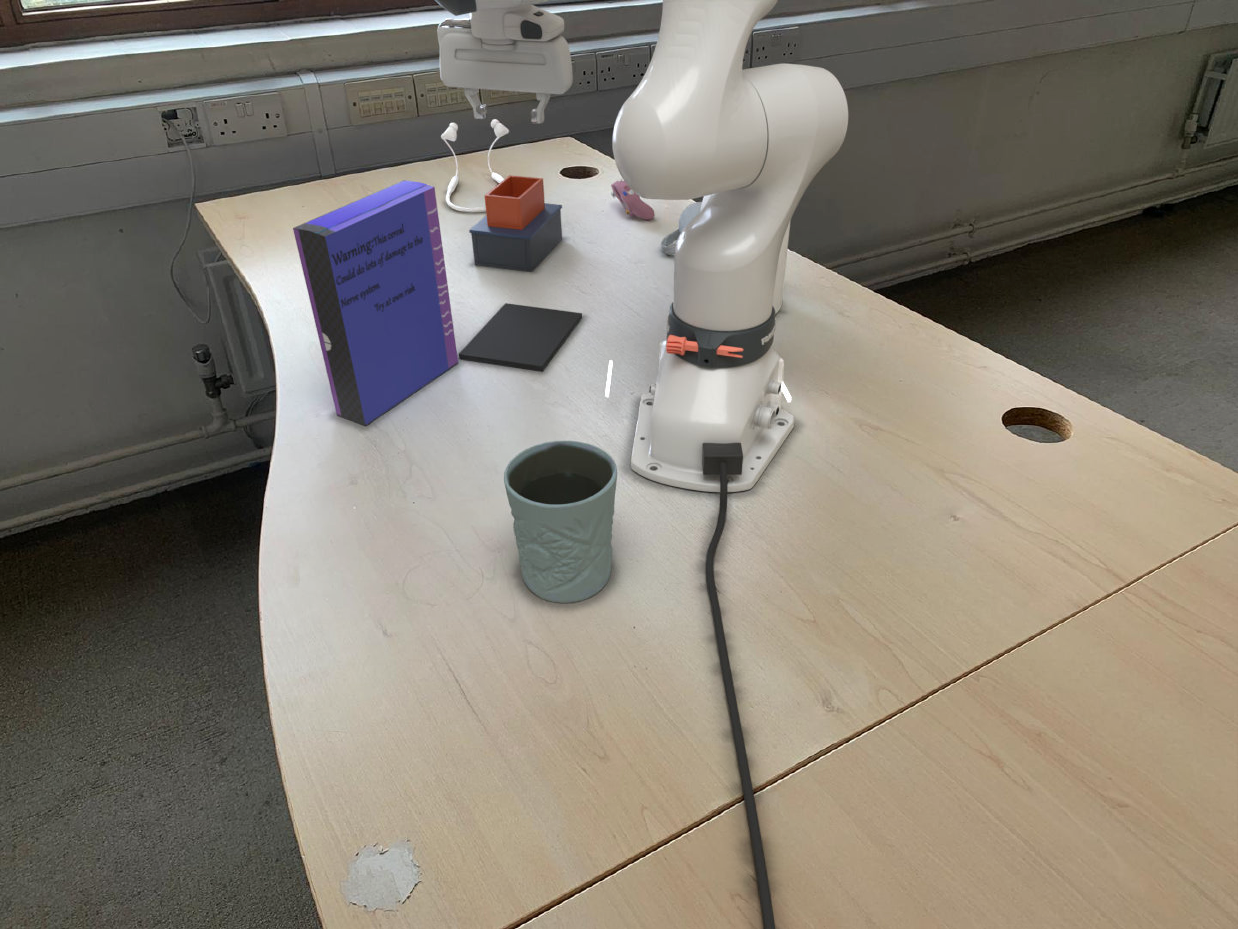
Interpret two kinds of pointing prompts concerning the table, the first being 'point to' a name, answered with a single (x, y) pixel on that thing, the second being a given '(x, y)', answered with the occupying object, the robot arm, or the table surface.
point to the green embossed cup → (563, 518)
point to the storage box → (517, 241)
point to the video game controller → (631, 201)
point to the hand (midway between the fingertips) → (509, 120)
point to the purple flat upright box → (379, 298)
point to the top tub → (515, 202)
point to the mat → (521, 337)
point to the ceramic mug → (680, 227)
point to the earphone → (452, 136)
